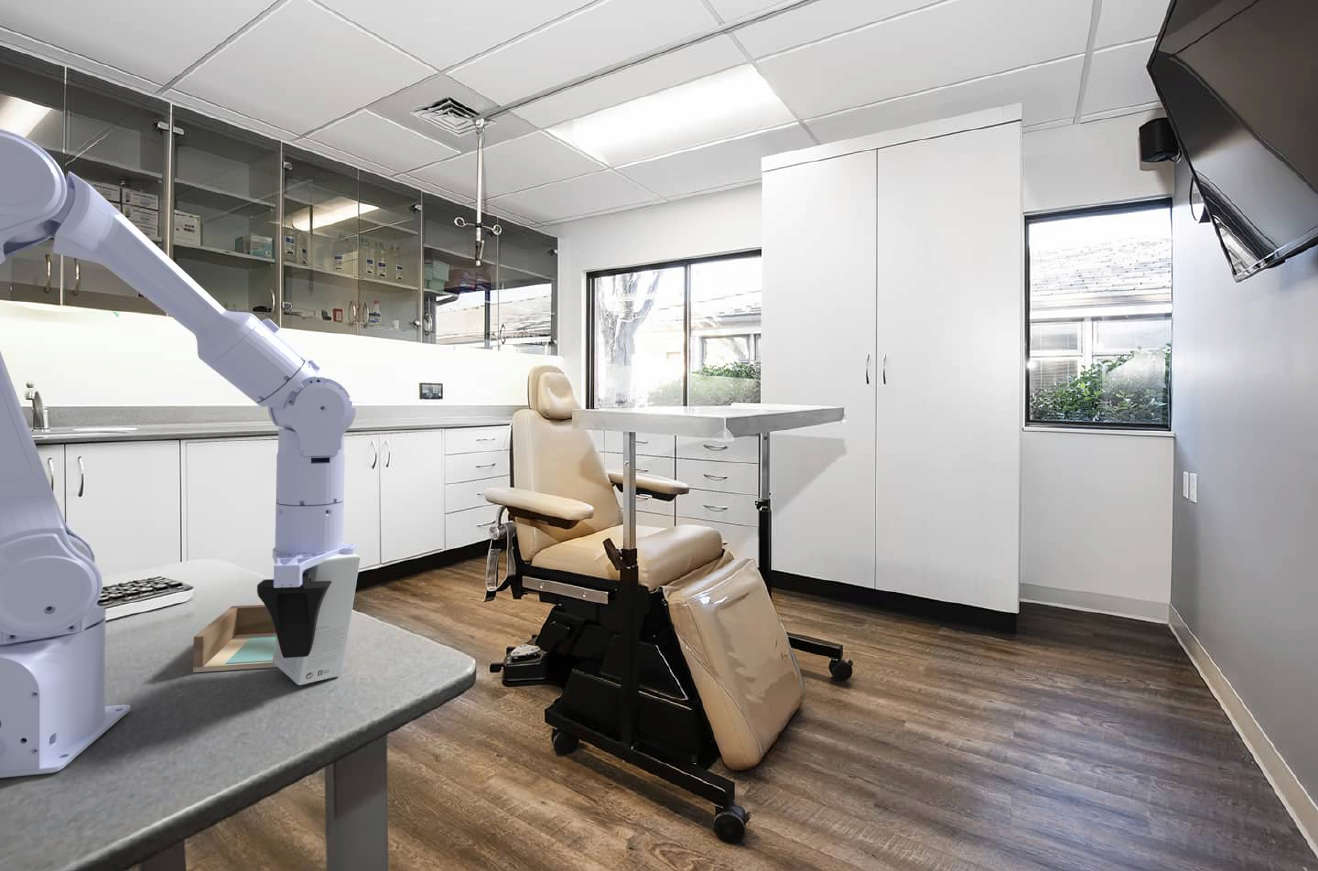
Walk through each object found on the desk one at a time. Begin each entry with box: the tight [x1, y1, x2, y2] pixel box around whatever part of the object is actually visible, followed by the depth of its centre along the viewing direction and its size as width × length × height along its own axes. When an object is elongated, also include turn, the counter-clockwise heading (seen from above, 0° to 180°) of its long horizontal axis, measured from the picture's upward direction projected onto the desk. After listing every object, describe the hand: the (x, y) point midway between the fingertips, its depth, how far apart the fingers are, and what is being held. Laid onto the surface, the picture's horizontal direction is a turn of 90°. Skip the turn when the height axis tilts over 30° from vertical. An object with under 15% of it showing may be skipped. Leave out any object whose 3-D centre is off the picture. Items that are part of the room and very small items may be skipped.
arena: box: [192, 604, 278, 673], centre depth 66 cm, size 10×11×4 cm
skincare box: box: [272, 553, 361, 686], centre depth 60 cm, size 6×4×12 cm
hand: (308, 640), depth 60 cm, fingers closed on skincare box, 7 cm apart
